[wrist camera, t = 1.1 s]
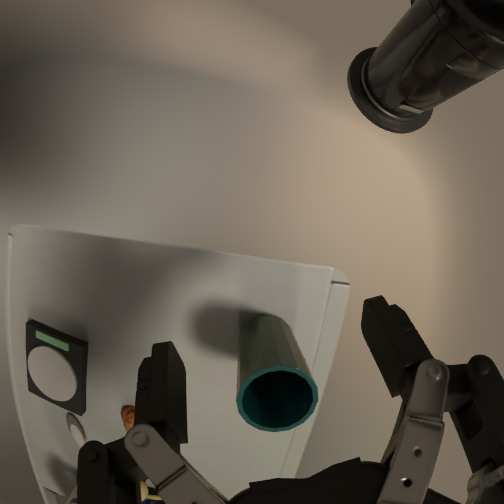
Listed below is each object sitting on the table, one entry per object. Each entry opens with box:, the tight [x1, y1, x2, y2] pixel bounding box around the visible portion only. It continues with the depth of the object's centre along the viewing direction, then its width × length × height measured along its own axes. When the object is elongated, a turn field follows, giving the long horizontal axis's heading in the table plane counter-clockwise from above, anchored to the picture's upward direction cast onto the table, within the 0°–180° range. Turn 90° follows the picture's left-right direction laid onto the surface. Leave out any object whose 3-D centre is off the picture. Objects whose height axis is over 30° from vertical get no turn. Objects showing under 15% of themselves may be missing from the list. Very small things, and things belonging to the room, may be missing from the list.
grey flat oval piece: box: [67, 413, 87, 448], centre depth 35 cm, size 6×2×1 cm, turn 8°
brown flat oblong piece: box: [122, 406, 135, 432], centre depth 34 cm, size 8×2×5 cm
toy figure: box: [140, 481, 162, 504], centre depth 34 cm, size 11×9×5 cm
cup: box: [236, 315, 318, 432], centre depth 28 cm, size 6×6×13 cm
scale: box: [26, 319, 88, 416], centre depth 33 cm, size 11×9×2 cm
